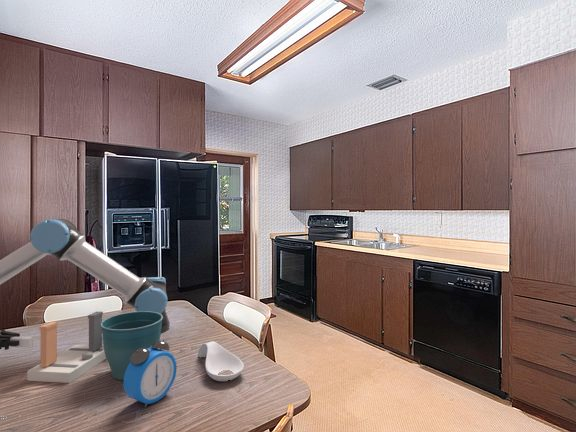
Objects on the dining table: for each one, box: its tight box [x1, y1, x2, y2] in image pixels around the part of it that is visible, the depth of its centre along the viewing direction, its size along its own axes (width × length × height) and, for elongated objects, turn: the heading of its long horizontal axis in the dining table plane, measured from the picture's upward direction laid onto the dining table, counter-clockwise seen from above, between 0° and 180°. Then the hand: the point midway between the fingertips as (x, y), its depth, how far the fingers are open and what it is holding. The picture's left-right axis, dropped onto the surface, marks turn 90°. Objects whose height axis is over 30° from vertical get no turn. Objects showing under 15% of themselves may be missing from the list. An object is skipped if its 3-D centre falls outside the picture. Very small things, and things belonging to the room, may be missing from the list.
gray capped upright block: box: [87, 311, 104, 351], centre depth 113 cm, size 2×4×12 cm, turn 175°
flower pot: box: [101, 311, 163, 381], centre depth 104 cm, size 18×18×17 cm
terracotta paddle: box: [39, 321, 59, 367], centre depth 102 cm, size 2×4×12 cm, turn 175°
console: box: [26, 344, 107, 384], centre depth 108 cm, size 14×20×4 cm
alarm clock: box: [122, 339, 177, 408], centre depth 89 cm, size 13×6×15 cm, turn 152°
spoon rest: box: [197, 340, 245, 382], centre depth 106 cm, size 24×12×7 cm, turn 37°
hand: (31, 342), depth 103 cm, fingers closed
